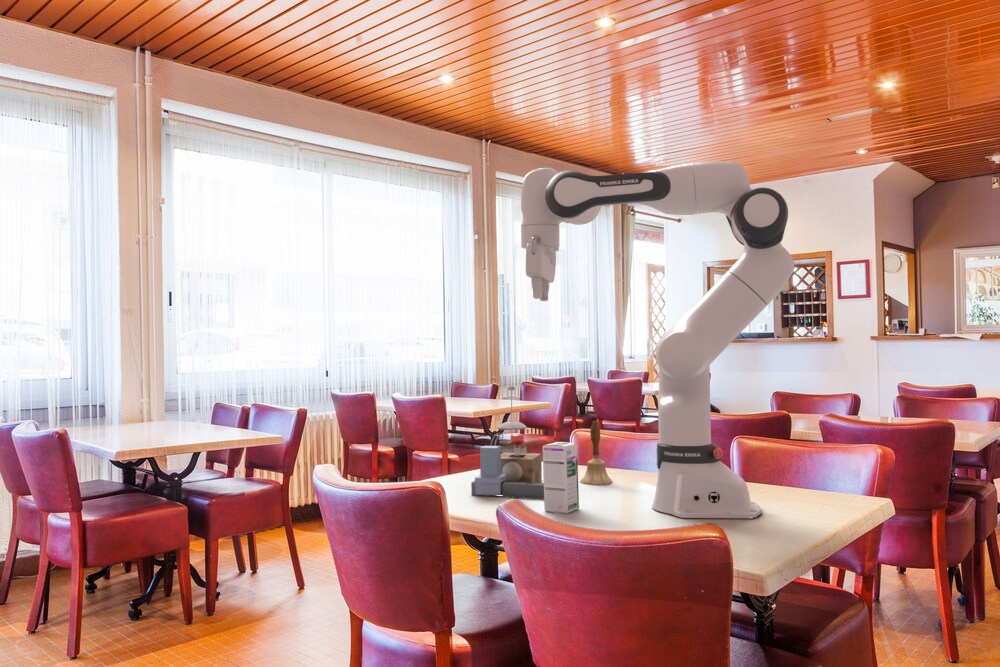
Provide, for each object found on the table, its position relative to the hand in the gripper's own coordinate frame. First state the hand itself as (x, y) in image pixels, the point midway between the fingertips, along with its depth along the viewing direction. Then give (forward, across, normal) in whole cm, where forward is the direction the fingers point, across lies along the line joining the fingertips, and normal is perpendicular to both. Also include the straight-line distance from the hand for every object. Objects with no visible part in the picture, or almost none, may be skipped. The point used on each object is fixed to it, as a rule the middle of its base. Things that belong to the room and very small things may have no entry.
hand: (540, 299), depth 173 cm
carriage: (+46, +7, +14) cm, 49 cm away
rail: (+46, +6, +8) cm, 47 cm away
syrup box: (+47, -8, -5) cm, 48 cm away
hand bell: (+47, +27, -10) cm, 55 cm away
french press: (+47, +31, +14) cm, 58 cm away
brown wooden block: (+46, +16, +9) cm, 50 cm away
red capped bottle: (+41, +16, +9) cm, 45 cm away
